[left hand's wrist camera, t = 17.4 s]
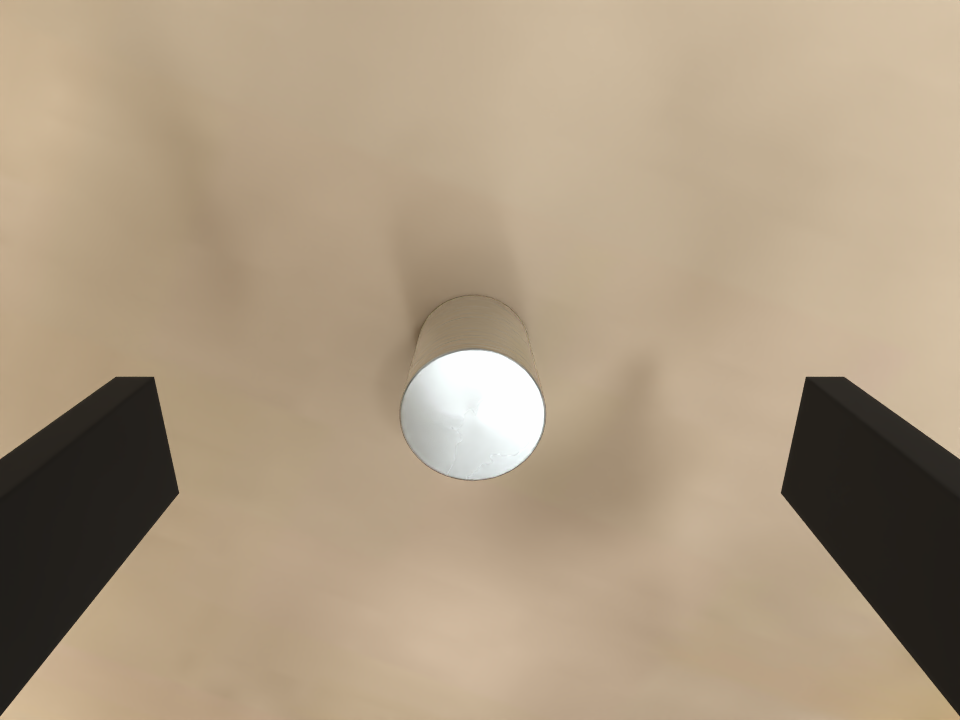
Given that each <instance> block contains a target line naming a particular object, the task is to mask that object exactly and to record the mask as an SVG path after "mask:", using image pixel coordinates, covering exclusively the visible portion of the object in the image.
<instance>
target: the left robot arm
mask: <svg viewBox="0 0 960 720" xmlns="http://www.w3.org/2000/svg"><path fill="white" fill-rule="evenodd" d="M178 494H179V490H178V486H177V481H176V476H175V472H174V467H173V463H172V458H171V453H170V449H169V444H168V439H167V435H166V430H165V426H164V421H163V416H162V412H161V407H160V402H159V398H158V393H157V388H156V384H155V379H154V377H115V378H114V379H112V380H111V381H109V382H108V383H107V384H105V385H104V386H102V387H101V388H100V389H98V390H97V391H95V392H94V393H93V394H91V395H90V396H88V397H87V398H86V399H84V400H83V401H81V402H80V403H79V404H77V405H76V406H74V407H73V408H72V409H70V410H69V411H67V412H66V413H65V414H63V415H62V416H60V417H59V418H57V419H56V420H55V421H53V422H52V423H50V424H49V425H48V426H46V427H45V428H43V429H42V430H41V431H39V432H38V433H36V434H35V435H34V436H32V437H31V438H29V439H28V440H27V441H25V442H24V443H22V444H21V445H20V446H18V447H17V448H15V449H14V450H13V451H11V452H10V453H8V454H7V455H6V456H4V457H3V458H1V459H0V716H1V715H2V713H3V712H4V711H5V710H6V708H7V707H8V706H9V705H10V703H11V702H12V701H13V700H14V698H15V697H16V696H17V695H18V693H19V692H20V691H21V690H22V688H23V687H24V686H25V685H26V683H27V682H28V681H29V680H30V678H31V677H32V676H33V675H34V673H35V672H36V671H37V670H38V668H39V667H40V666H41V665H42V663H43V662H44V661H45V660H46V658H47V657H48V656H49V655H50V653H51V652H52V651H53V650H54V648H55V647H56V646H57V645H58V644H59V642H60V641H61V640H62V639H63V637H64V636H65V635H66V634H67V632H68V631H69V630H70V629H71V627H72V626H73V625H74V624H75V622H76V621H77V620H78V619H79V617H80V616H81V615H82V614H83V612H84V611H85V610H86V609H87V607H88V606H89V605H90V604H91V602H92V601H93V600H94V599H95V597H96V596H97V595H98V594H99V592H100V591H101V590H102V589H103V587H104V586H105V585H106V584H107V582H108V581H109V580H110V579H111V577H112V576H113V575H114V574H115V572H116V571H117V570H118V569H119V567H120V566H121V565H122V564H123V562H124V561H125V560H126V559H127V557H128V556H129V555H130V554H131V552H132V551H133V550H134V549H135V547H136V546H137V545H138V544H139V542H140V541H141V540H142V539H143V537H144V536H145V535H146V534H147V532H148V531H149V530H150V529H151V527H152V526H153V525H154V524H155V522H156V521H157V520H158V519H159V517H160V516H161V515H162V514H163V512H164V511H165V510H166V509H167V507H168V506H169V505H170V504H171V502H172V501H173V500H174V499H175V497H176V496H177V495H178ZM781 494H782V495H783V496H784V497H785V499H786V500H787V501H788V502H789V504H790V505H791V506H792V507H793V509H794V510H795V511H796V512H797V514H798V515H799V516H800V517H801V519H802V520H803V521H804V522H805V524H806V525H807V526H808V527H809V529H810V530H811V531H812V532H813V534H814V535H815V536H816V537H817V539H818V540H819V541H820V542H821V544H822V545H823V546H824V547H825V549H826V550H827V551H828V552H829V554H830V555H831V556H832V557H833V559H834V560H835V561H836V562H837V564H838V565H839V566H840V567H841V569H842V570H843V571H844V572H845V574H846V575H847V576H848V577H849V579H850V580H851V581H852V582H853V584H854V585H855V586H856V587H857V589H858V590H859V591H860V592H861V594H862V595H863V596H864V597H865V599H866V600H867V601H868V602H869V604H870V605H871V606H872V607H873V609H874V610H875V611H876V612H877V614H878V615H879V616H880V617H881V619H882V620H883V621H884V622H885V624H886V625H887V626H888V627H889V629H890V630H891V631H892V632H893V634H894V635H895V636H896V637H897V639H898V640H899V641H900V642H901V644H902V645H903V646H904V647H905V648H906V650H907V651H908V652H909V653H910V655H911V656H912V657H913V658H914V660H915V661H916V662H917V663H918V665H919V666H920V667H921V668H922V670H923V671H924V672H925V673H926V675H927V676H928V677H929V678H930V680H931V681H932V682H933V683H934V685H935V686H936V687H937V688H938V690H939V691H940V692H941V693H942V695H943V696H944V697H945V698H946V700H947V701H948V702H949V703H950V705H951V706H952V707H953V708H954V710H955V711H956V712H957V713H958V715H959V716H960V459H959V458H957V457H956V456H954V455H953V454H952V453H950V452H949V451H947V450H946V449H945V448H943V447H942V446H940V445H939V444H938V443H936V442H935V441H933V440H932V439H931V438H929V437H928V436H926V435H925V434H924V433H922V432H921V431H919V430H918V429H917V428H915V427H914V426H912V425H911V424H910V423H908V422H907V421H905V420H904V419H903V418H901V417H900V416H898V415H897V414H895V413H894V412H893V411H891V410H890V409H888V408H887V407H886V406H884V405H883V404H881V403H880V402H879V401H877V400H876V399H874V398H873V397H872V396H870V395H869V394H867V393H866V392H865V391H863V390H862V389H860V388H859V387H858V386H856V385H855V384H853V383H852V382H851V381H849V380H848V379H846V378H845V377H806V379H805V384H804V388H803V393H802V398H801V402H800V407H799V412H798V416H797V421H796V426H795V430H794V435H793V439H792V444H791V449H790V453H789V458H788V463H787V467H786V472H785V476H784V481H783V486H782V490H781Z"/></svg>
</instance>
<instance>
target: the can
mask: <svg viewBox="0 0 960 720" xmlns="http://www.w3.org/2000/svg"><path fill="white" fill-rule="evenodd" d="M545 422H546V405H545V400H544V396H543V392H542V388H541V385H540V381H539V377H538V373H537V369H536V366H535V362H534V358H533V354H532V350H531V347H530V343H529V339H528V335H527V332H526V329H525V327H524V325H523V323H522V321H521V320H520V318H519V317H518V316H517V315H516V314H515V312H514V311H513V310H511V309H510V308H509V307H508V306H506V305H505V304H503V303H502V302H500V301H497V300H495V299H493V298H489V297H485V296H479V295H468V296H461V297H457V298H454V299H451V300H449V301H447V302H445V303H443V304H442V305H440V306H439V307H437V308H436V309H435V310H434V311H433V312H432V313H431V314H430V315H429V317H428V318H427V319H426V321H425V322H424V324H423V326H422V328H421V331H420V334H419V338H418V341H417V345H416V348H415V352H414V356H413V359H412V363H411V366H410V370H409V374H408V377H407V381H406V384H405V388H404V392H403V395H402V399H401V403H400V424H401V429H402V432H403V435H404V438H405V440H406V442H407V444H408V446H409V447H410V449H411V450H412V452H413V453H414V454H415V455H416V456H417V457H418V458H419V459H420V460H421V461H422V462H423V463H424V464H425V465H427V466H428V467H430V468H431V469H433V470H434V471H436V472H438V473H440V474H443V475H445V476H448V477H451V478H455V479H461V480H474V481H475V480H485V479H490V478H494V477H498V476H501V475H503V474H505V473H507V472H510V471H511V470H513V469H515V468H516V467H518V466H519V465H520V464H521V463H523V462H524V461H525V460H526V459H527V458H528V457H529V456H530V455H531V454H532V452H533V451H534V450H535V448H536V447H537V445H538V443H539V441H540V439H541V437H542V434H543V432H544V427H545Z"/></svg>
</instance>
